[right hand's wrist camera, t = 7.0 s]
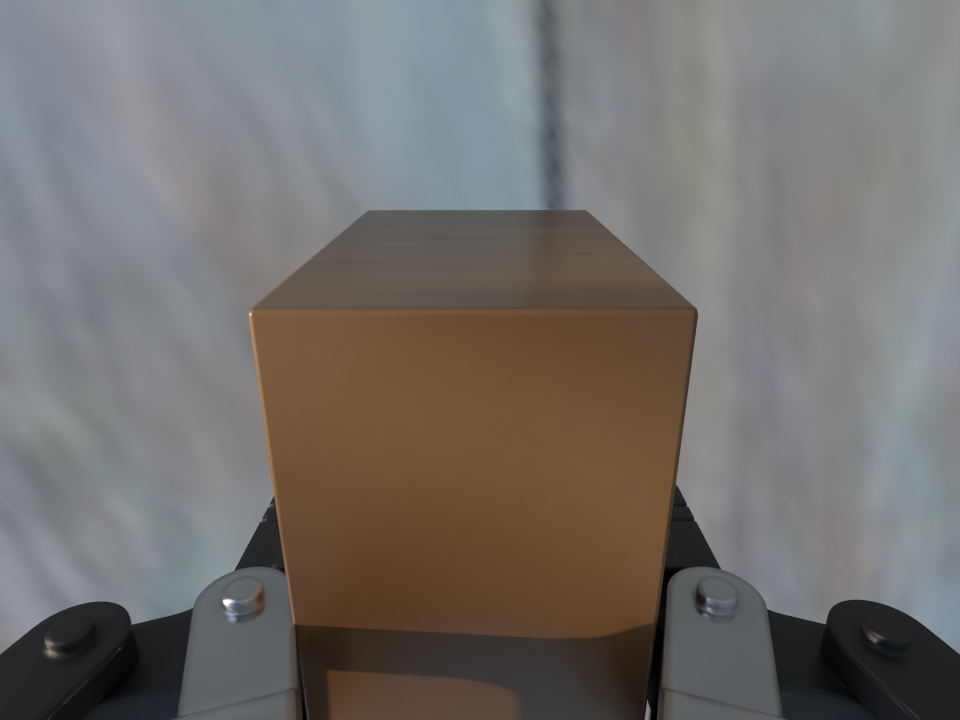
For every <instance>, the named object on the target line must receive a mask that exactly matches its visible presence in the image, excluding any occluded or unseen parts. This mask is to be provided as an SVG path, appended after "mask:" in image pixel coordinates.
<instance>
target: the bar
mask: <svg viewBox="0 0 960 720" xmlns="http://www.w3.org/2000/svg"><path fill="white" fill-rule="evenodd" d="M248 316H249V323H250V330H251V337H252V344H253V351H254V358H255V365H256V372H257V379H258V386H259V393H260V400H261V407H262V414H263V420H264V427H265V434H266V441H267V448H268V455H269V462H270V469H271V476H272V483H273V490H274V497H275V504H276V511H277V518H278V525H279V532H280V539H281V545H282V552H283V559H284V566H285V573H286V580H287V587H288V594H289V601H290V608H291V615H292V621H293V623H294V624H295V629H296V636H297V643H298V650H299V664H300V677H301V684H302V691H303V698H304V705H305V712H306V719H307V720H645V712H646V704H647V697H648V689H649V682H650V674H651V667H652V659H653V652H654V644H655V636H656V629H657V621H658V614H659V606H660V599H661V591H662V584H663V576H664V568H665V561H666V553H667V546H668V538H669V531H670V523H671V516H672V508H673V500H674V493H675V485H676V478H677V470H678V463H679V455H680V448H681V440H682V432H683V425H684V417H685V410H686V402H687V395H688V387H689V380H690V372H691V364H692V357H693V349H694V342H695V334H696V327H697V319H698V312H697V309H696V308H695V307H694V306H693V305H692V304H691V303H690V302H688V301H687V300H686V299H685V298H684V297H683V296H682V295H681V294H680V293H678V292H677V291H676V290H675V289H674V288H673V287H672V286H671V285H669V284H668V283H667V282H666V281H665V280H664V279H663V278H662V277H660V276H659V275H658V274H657V273H656V272H655V271H654V270H653V269H651V268H650V267H649V266H648V265H647V264H646V263H645V262H644V261H643V260H641V259H640V258H639V257H638V256H637V255H636V254H635V253H634V252H632V251H631V250H630V249H629V248H628V247H627V246H626V245H625V244H623V243H622V242H621V241H620V240H619V239H618V238H617V237H616V236H614V235H613V234H612V233H611V232H610V231H609V230H608V229H607V228H606V227H604V226H603V225H602V224H601V223H600V222H599V221H598V220H597V219H595V218H594V217H593V216H592V215H591V214H590V213H589V212H588V211H586V210H369V211H367V212H366V213H365V214H363V215H362V216H361V217H360V218H359V219H357V220H356V221H355V222H354V223H353V224H351V225H350V226H349V227H348V228H347V229H345V230H344V231H343V232H342V233H341V234H339V235H338V236H337V237H336V238H335V239H333V240H332V241H331V242H330V243H329V244H327V245H326V246H325V247H324V248H323V249H321V250H320V251H319V252H318V253H317V254H315V255H314V256H313V257H312V258H311V259H309V260H308V261H307V262H306V263H305V264H303V265H302V266H301V267H300V268H299V269H297V270H296V271H295V272H294V273H293V274H291V275H290V276H289V277H288V278H287V279H285V280H284V281H283V282H282V283H281V284H279V285H278V286H277V287H276V288H275V289H273V290H272V291H271V292H270V293H269V294H267V295H266V296H265V297H264V298H263V299H261V300H260V301H259V302H258V303H257V304H255V305H254V306H253V307H252V308H251V309H250V310H249V313H248Z"/></svg>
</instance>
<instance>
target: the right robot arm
mask: <svg viewBox="0 0 960 720" xmlns="http://www.w3.org/2000/svg"><path fill="white" fill-rule="evenodd" d="M647 699H648V703H649V706H650V714H649V720H960V654H958V653H957V652H956V651H955V650H953V649H952V648H951V647H950V646H949V645H947V644H946V643H945V642H944V641H942V640H941V639H940V638H939V637H937V636H936V635H935V634H934V633H932V632H931V631H930V630H929V629H927V628H926V627H925V626H924V625H922V624H921V623H920V622H918V621H917V620H915V619H914V618H912V617H910V616H909V615H907V614H905V613H903V612H901V611H899V610H897V609H895V608H892V607H890V606H887V605H884V604H880V603H877V602H872V601H866V600H848V601H843V602H840V603H838V604H836V605H835V606H833V607H832V609H831V610H830V611H829V614H828V617H827V621H826V624H821V623H817V622H813V621H809V620H805V619H800V618H796V617H792V616H788V615H783V614H780V613H776V612H773V611H771V610H768V609H767V607H766V603H765V601H764V599H763V598H762V596H761V595H760V594H759V592H758V591H757V590H756V589H755V588H754V587H753V586H752V585H750V584H749V583H748V582H747V581H745V580H743V579H742V578H740V577H738V576H736V575H734V574H732V573H730V572H727V571H724V570H721V568H720V566H719V564H718V562H717V561H716V559H715V557H714V555H713V553H712V551H711V549H710V547H709V545H708V543H707V542H706V540H705V538H704V536H703V534H702V532H701V530H700V528H699V526H698V524H697V522H694V517H693V515H692V513H691V511H690V509H689V507H687V503H686V502H685V500H684V498H683V496H682V494H681V492H680V490H679V488H678V486H677V485H675V493H674V500H673V508H672V516H671V523H670V531H669V538H668V546H667V553H666V561H665V568H664V576H663V584H662V591H661V599H660V606H659V614H658V621H657V629H656V636H655V644H654V652H653V659H652V667H651V674H650V682H649V689H648V697H647ZM0 720H307V719H306V712H305V705H304V698H303V691H302V684H301V677H300V664H299V650H298V643H297V636H296V629H295V624H294V623H293V621H292V615H291V608H290V601H289V594H288V587H287V580H286V573H285V566H284V559H283V552H282V545H281V539H280V532H279V525H278V518H277V511H276V504H275V497H273V499H272V501H271V503H270V508H268V509H267V511H266V512H265V514H264V516H263V518H262V522H260V524H259V526H258V527H257V529H256V531H255V533H254V535H253V537H252V539H251V541H250V542H249V544H248V546H247V548H246V550H245V552H244V554H243V556H242V557H241V559H240V561H239V563H238V565H237V567H236V569H235V571H233V572H230V573H228V574H226V575H224V576H222V577H220V578H218V579H217V580H215V581H214V582H212V583H211V584H210V585H208V586H207V587H206V588H205V589H204V590H203V591H202V592H201V594H200V595H199V596H198V598H197V600H196V602H195V604H194V607H193V608H192V609H190V610H187V611H185V612H182V613H179V614H175V615H172V616H167V617H163V618H159V619H155V620H150V621H146V622H142V623H138V624H133V625H132V623H131V620H130V616H129V614H128V612H127V611H126V609H125V608H123V607H122V606H120V605H118V604H115V603H111V602H90V603H85V604H80V605H77V606H74V607H70V608H68V609H65V610H63V611H60V612H58V613H56V614H54V615H52V616H50V617H49V618H47V619H45V620H44V621H42V622H41V623H39V624H38V625H37V626H35V627H34V628H33V629H31V630H30V631H29V632H28V633H26V634H25V635H24V636H23V637H21V638H20V639H19V640H18V641H16V642H15V643H14V644H13V645H11V646H10V647H9V648H8V649H7V650H5V651H4V652H3V653H2V654H0Z"/></svg>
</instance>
